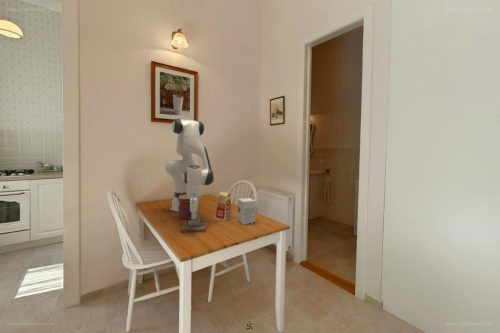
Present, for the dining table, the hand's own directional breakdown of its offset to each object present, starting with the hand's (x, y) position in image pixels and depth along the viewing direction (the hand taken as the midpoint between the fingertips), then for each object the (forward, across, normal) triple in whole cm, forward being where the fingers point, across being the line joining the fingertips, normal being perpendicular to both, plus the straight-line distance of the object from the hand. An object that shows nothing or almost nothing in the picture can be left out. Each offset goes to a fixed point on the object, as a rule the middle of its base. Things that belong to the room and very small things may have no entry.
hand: (194, 215), depth 131 cm
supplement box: (+8, +7, -33) cm, 35 cm away
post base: (+8, 0, 0) cm, 8 cm away
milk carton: (+8, +17, -19) cm, 27 cm away
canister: (+8, +23, +6) cm, 25 cm away
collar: (+6, 0, 0) cm, 6 cm away
